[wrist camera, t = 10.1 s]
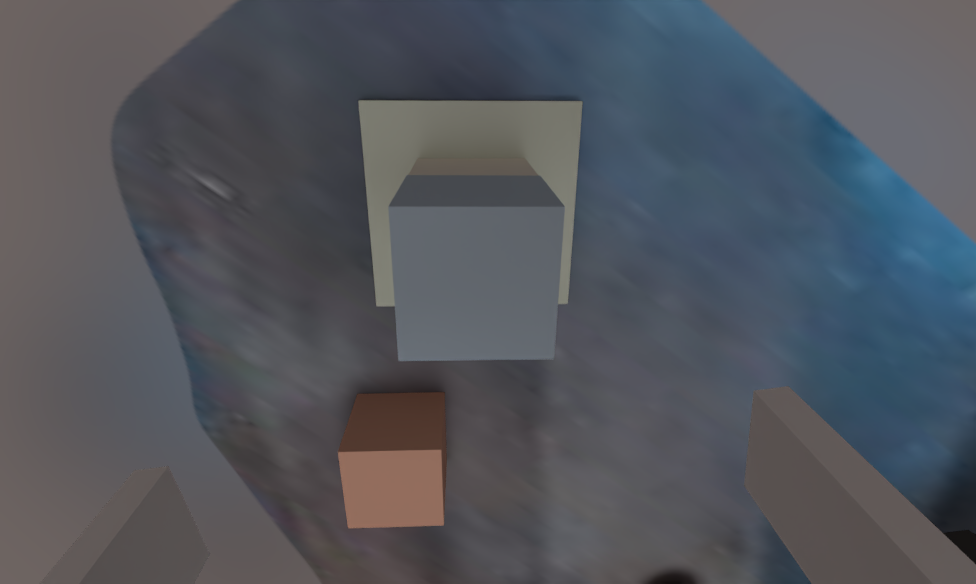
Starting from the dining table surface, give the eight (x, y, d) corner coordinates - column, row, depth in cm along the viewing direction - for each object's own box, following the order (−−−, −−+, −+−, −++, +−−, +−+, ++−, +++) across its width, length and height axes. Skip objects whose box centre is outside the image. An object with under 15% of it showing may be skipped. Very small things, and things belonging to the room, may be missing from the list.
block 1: (444, 391, 35) (441, 449, 30) (446, 459, 38) (443, 525, 32) (357, 393, 35) (337, 452, 29) (365, 461, 37) (348, 528, 32)
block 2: (525, 158, 28) (539, 177, 23) (521, 259, 31) (534, 299, 25) (417, 158, 28) (406, 177, 23) (422, 260, 30) (413, 300, 25)
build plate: (579, 100, 28) (582, 101, 27) (565, 298, 33) (567, 303, 32) (361, 100, 28) (358, 100, 27) (378, 301, 32) (376, 306, 32)
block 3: (540, 175, 23) (565, 206, 17) (534, 297, 25) (553, 359, 20) (406, 175, 23) (388, 206, 17) (412, 298, 25) (398, 361, 19)
